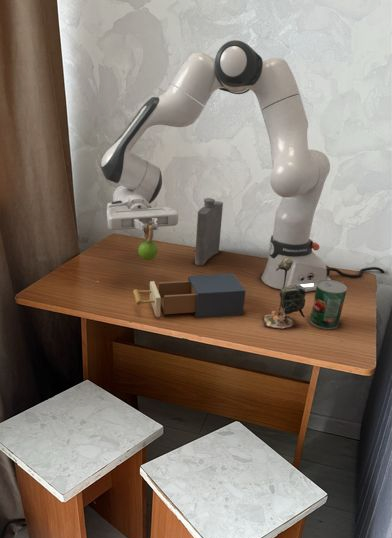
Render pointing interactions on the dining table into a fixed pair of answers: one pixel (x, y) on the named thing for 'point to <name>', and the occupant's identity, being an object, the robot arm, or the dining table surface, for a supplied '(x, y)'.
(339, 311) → the canned tomato
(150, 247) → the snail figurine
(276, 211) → the robot arm
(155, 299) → the drawer
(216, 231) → the hip flask
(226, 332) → the dining table surface
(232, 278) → the cabinet
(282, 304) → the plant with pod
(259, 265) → the dining table surface
